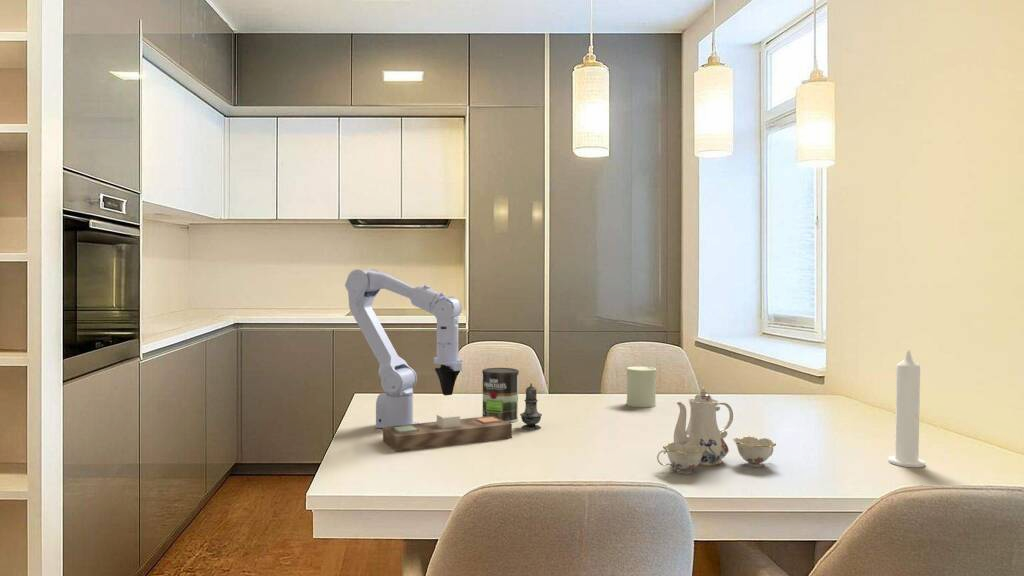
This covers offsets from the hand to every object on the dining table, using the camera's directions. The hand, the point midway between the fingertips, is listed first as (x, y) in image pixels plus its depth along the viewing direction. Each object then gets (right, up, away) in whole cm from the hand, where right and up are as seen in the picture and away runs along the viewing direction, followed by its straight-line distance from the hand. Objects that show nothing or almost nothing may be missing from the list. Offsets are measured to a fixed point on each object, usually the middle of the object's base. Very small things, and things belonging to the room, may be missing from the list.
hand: (447, 394), depth 182 cm
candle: (+104, -11, -30) cm, 108 cm away
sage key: (-9, -9, -15) cm, 19 cm away
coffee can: (+14, -9, +14) cm, 22 cm away
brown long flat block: (+1, -10, -10) cm, 14 cm away
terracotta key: (+11, -9, -5) cm, 15 cm away
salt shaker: (+22, -10, +4) cm, 24 cm away
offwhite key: (+1, -7, -10) cm, 12 cm away
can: (+58, -9, +36) cm, 69 cm away
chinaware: (+60, -11, -30) cm, 68 cm away
